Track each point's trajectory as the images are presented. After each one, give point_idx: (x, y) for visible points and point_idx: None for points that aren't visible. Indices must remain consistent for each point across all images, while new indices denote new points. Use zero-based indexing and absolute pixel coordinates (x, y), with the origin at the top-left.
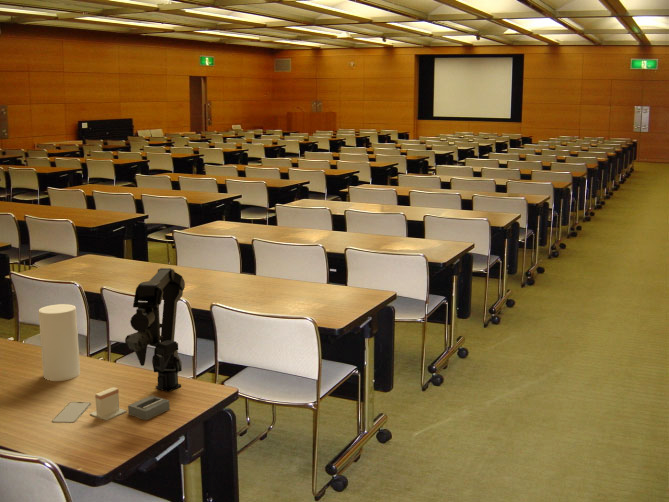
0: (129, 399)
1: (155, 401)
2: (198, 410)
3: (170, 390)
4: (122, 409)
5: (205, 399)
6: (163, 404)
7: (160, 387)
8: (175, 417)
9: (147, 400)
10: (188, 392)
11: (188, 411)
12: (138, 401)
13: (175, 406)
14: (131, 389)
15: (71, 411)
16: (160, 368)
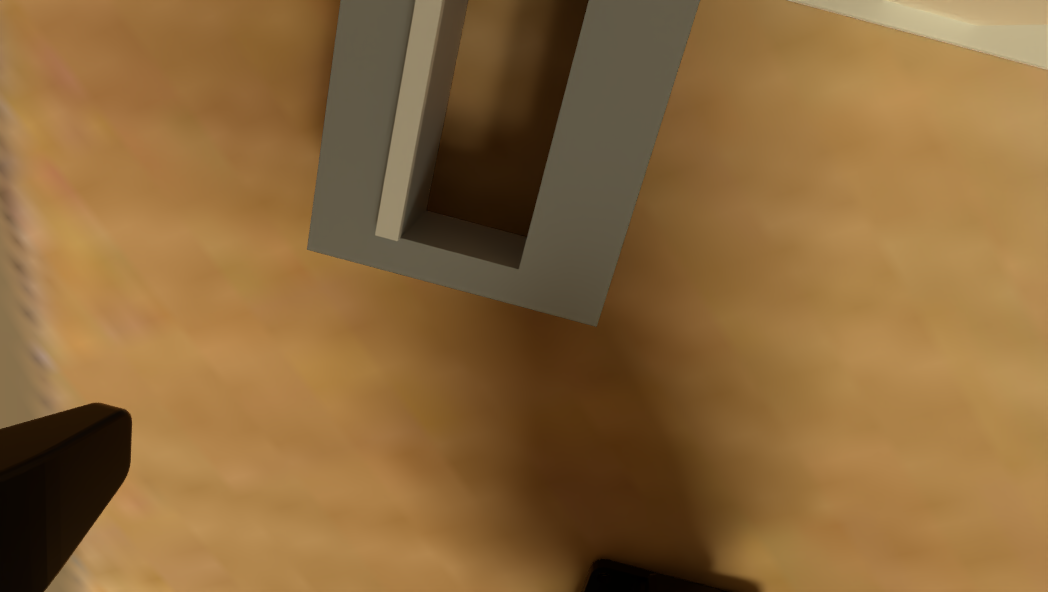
0: (903, 313)
1: (515, 253)
2: (84, 285)
3: (586, 581)
4: (840, 5)
5: (194, 503)
6: (326, 154)
7: (688, 590)
8: (161, 58)
9: (558, 168)
10: (420, 589)
11: (148, 235)
12: (653, 96)
13: (337, 300)
14: (999, 529)
15: None
16: (62, 437)
